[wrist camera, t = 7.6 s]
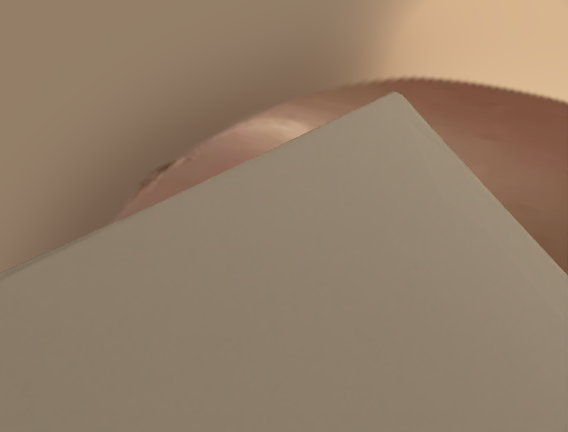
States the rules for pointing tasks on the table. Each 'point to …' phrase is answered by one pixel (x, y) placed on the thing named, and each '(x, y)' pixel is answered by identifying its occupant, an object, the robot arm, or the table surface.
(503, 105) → the table surface
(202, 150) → the table surface
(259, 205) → the supplement box
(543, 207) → the table surface
